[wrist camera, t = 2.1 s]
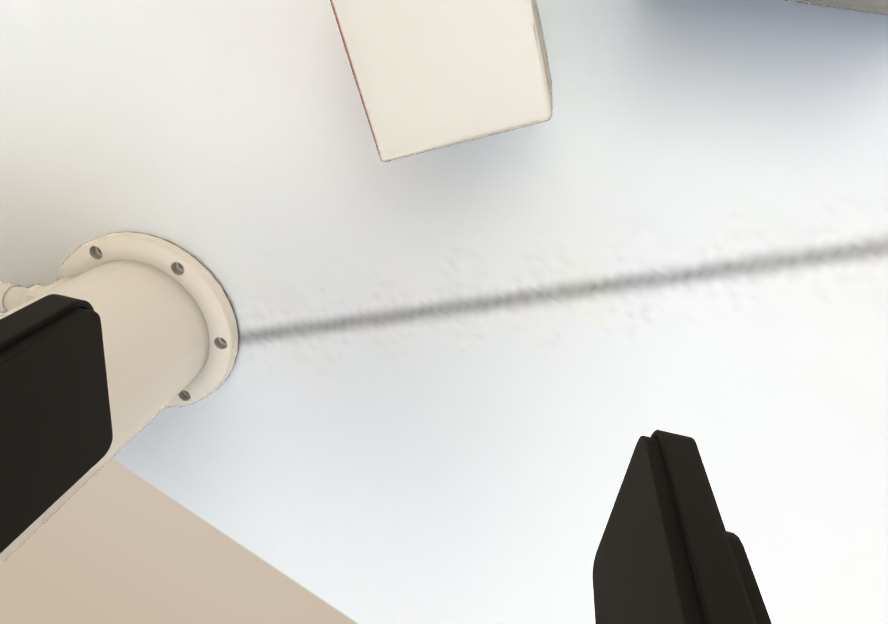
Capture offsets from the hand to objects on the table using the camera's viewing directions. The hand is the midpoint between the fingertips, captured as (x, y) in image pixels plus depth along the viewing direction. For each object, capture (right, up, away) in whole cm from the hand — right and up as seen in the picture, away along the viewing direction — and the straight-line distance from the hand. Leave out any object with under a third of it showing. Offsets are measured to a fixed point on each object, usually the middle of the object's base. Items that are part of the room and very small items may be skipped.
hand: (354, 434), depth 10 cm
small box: (+3, +17, +21) cm, 27 cm away
